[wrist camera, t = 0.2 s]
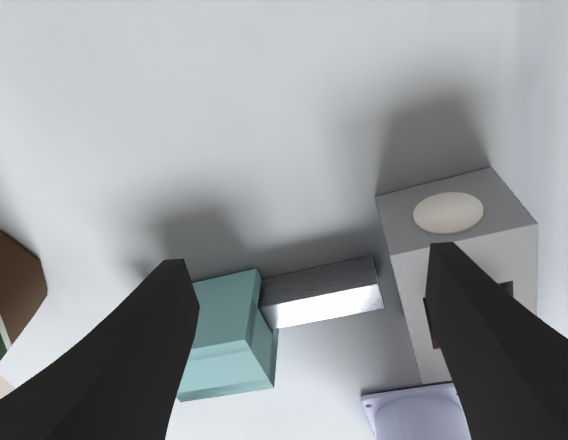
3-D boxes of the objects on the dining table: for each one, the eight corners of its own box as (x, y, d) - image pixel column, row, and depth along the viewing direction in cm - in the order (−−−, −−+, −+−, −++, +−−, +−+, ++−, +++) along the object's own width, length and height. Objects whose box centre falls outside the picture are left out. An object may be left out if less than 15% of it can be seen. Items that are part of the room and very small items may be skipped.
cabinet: (499, 299, 25) (536, 368, 21) (404, 317, 27) (422, 384, 23) (491, 163, 20) (537, 219, 16) (373, 193, 21) (388, 252, 17)
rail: (381, 289, 25) (389, 328, 23) (176, 330, 29) (162, 368, 26) (368, 242, 23) (375, 280, 21) (148, 292, 27) (131, 330, 24)
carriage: (279, 315, 27) (273, 387, 22) (200, 330, 28) (180, 402, 24) (256, 268, 25) (244, 339, 20) (171, 287, 26) (143, 358, 22)
